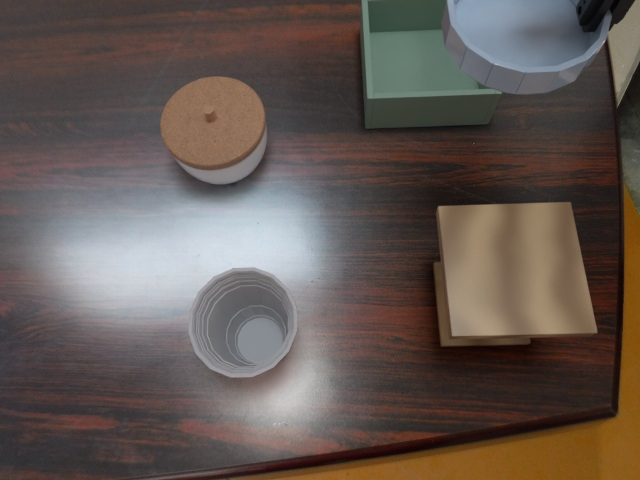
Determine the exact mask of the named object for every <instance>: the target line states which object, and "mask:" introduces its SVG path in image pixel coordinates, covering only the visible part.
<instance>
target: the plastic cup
mask: <svg viewBox="0 0 640 480" xmlns="http://www.w3.org/2000/svg"><path fill="white" fill-rule="evenodd" d="M297 332H298V307H297V304H296V302H295V300H294V298H293V296H292V293H291V291H290V288H289V287H287V286H286V285H285V284H284V283H283V282H282V281H281V280H280V279H279V278H278V277H277V276H276V275H275V274H274V273H271V272H268V271H265V270H263V269H260V268H257V267H253V266H252V267H232V268H230V269H227V270H226V271H223V272H221V273H219V274H217V275H214V276H212V278H211V279H210V280H209V281H207V282H206V284H204V286H203V287H202V288H200V289H199V290H198V292H197V293H196V296H195V298H194V300H193V302H192V305H191V307H190V309H189V311H188V331H187V334H188V336H189V341H190V342H191V345H192V348H193V350H194V353H195V355H196V356H197V357H198V358H199V359H200V360H201V361H202V362H203V363H204V364H205V366H207V367H208V369H209V370H211V371H214V372H216V373H219V374H222V375H223V376H225V377H228V378H253V377H256V376H258V375H260V374H263V373H265V372H267V371H269V370H271V369H273V368H275V367H276V366H277V365H278V363H279V362H280V361H281V360H282V359H283V358H284V357H285V356H286V355H287V354H288V353H289V352H290V350H291V348H292V345H293V342H294V340H295V337H296V334H297Z"/></svg>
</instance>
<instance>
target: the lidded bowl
mask: <svg viewBox="0 0 640 480" xmlns="http://www.w3.org/2000/svg"><path fill="white" fill-rule="evenodd" d="M266 117H267V115H266V110H265V107H264V104H263V101H262V99H261V97H260V96H259V95H258V93H257V92H256V91H255V90H254V88H252V87H251V86H249V85H248V84H247V83H245V82H243V81H241V80H239V79H236V78H233V77H229V76H228V77H227V76H219V75H218V76H217V75H216V76H215V75H214V76H206V77H201V78H198V79H196V80H193V81H191V82H188V83H187V84H185V85H184V86H182V87H181V88H179V89H178V90H177V91H176V92H175V93H173V94H172V96H171V97H170V99H168V101H167V102H166V103H165V106H164V107H163V110H162V112H161V115H160V121H159V130H160V131H159V132H160V135H161V139H162V142H163V144H164V146H165V147H166V149H167V151H168V152H169V153H170V154H171V156H173V158H174V159H175V161H176V162H177V164H178V165H180V167H181V168H182V169H183V170H184V171H185V172H186V173H188V174H189V175H191V176H192V177H193V178H195V179H197V180H199V181H201V182H204V183H207V184H212V185H229V184H233V183H237V182H239V181H240V180H243V179H244V178H246V177H248V176H249V175H250V174H252V173H253V172H254V171H255V170H256V168H257V167H258V166H259V164H260V163H261V161H262V159H263V157H264V155H265V153H266V148H267V142H268V125H267V120H266V119H267V118H266Z"/></svg>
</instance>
